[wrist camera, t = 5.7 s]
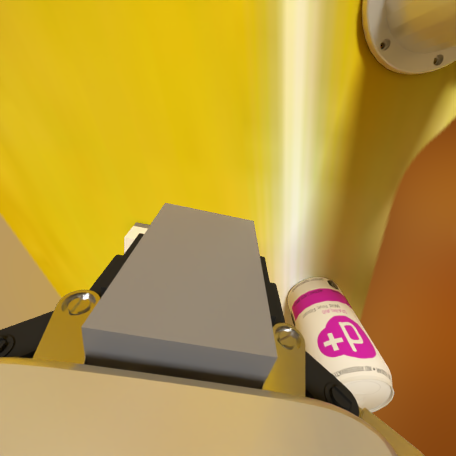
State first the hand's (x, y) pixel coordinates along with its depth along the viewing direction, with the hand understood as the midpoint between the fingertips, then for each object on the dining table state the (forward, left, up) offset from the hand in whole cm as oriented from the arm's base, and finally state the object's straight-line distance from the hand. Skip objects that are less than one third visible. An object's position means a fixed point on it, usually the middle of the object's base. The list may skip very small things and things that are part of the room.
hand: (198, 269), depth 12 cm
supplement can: (-19, +15, -18) cm, 30 cm away
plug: (0, 0, -2) cm, 2 cm away
